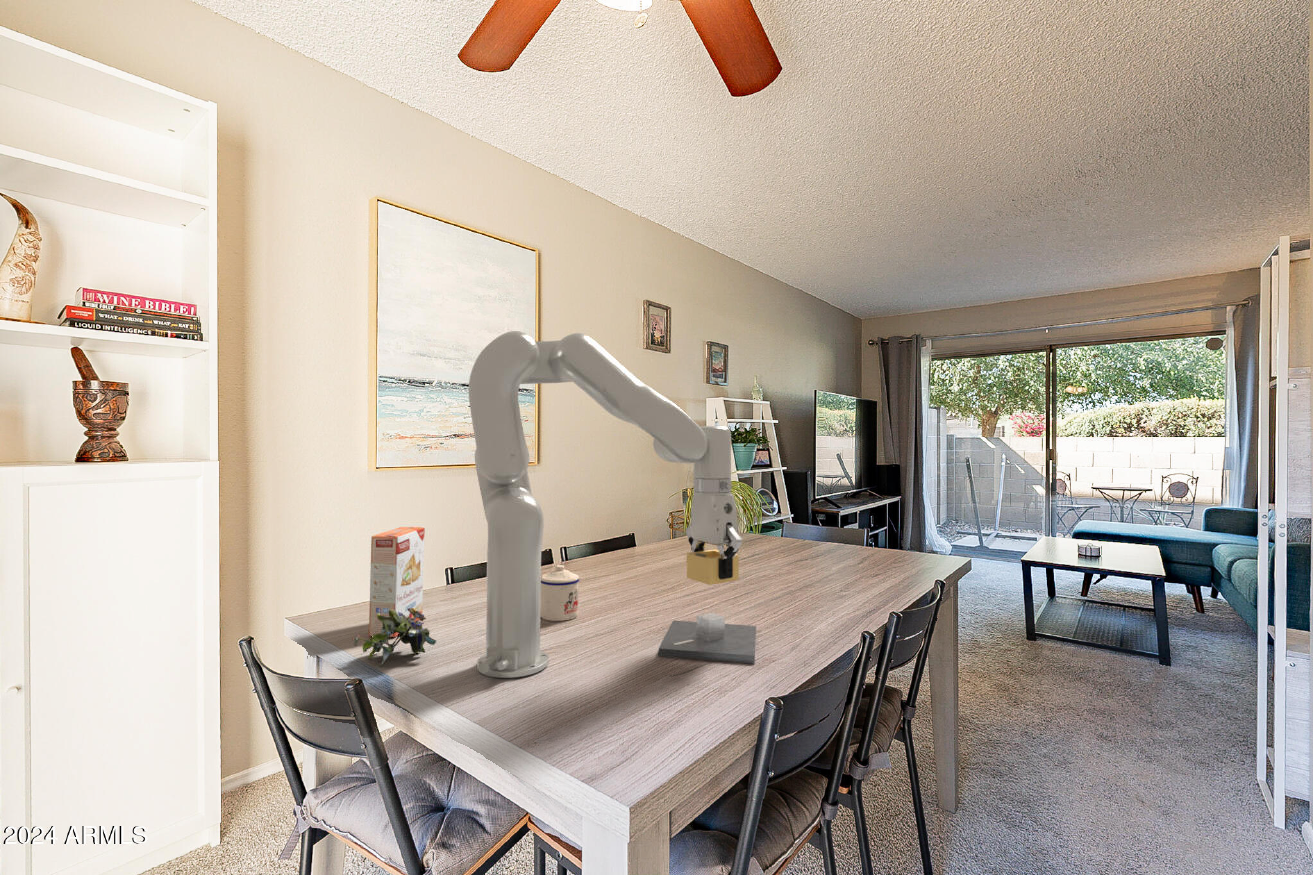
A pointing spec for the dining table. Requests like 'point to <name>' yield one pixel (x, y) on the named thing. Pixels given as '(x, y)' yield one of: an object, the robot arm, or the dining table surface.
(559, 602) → the teacup with lid
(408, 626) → the passion flower
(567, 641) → the dining table surface
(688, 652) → the post plate
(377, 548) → the cracker box
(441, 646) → the dining table surface
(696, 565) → the collar
